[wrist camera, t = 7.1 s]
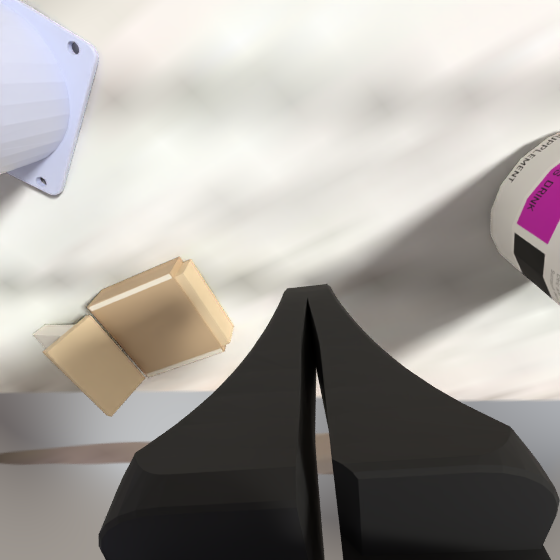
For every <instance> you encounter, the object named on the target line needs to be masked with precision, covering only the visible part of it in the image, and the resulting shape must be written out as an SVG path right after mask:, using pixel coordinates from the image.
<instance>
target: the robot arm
mask: <svg viewBox="0 0 560 560" xmlns="http://www.w3.org/2000/svg"><path fill="white" fill-rule="evenodd" d="M73 42H76V43H77V44H78V47H79V53H78V54H75V53H74V52H73V50H72V44H73ZM98 62H99V55H98V51H97V50H96V48H95V47H94V46H93V45H92V44H91V43H89V42H87V41H86V40H84V39H82V38H81V37H79V36H77V35H76V34H74V33H73V32H71V31H69V30H68V29H66V28H64V27H63V26H61V25H59V24H58V23H56V22H55V21H53V20H51V19H50V18H48V17H46V16H45V15H43V14H41V13H40V12H38V11H37V10H35V9H33V8H32V7H30V6H28V5H27V4H25V3H23V2H22V1H20V0H0V174H2V173H7V174H9V175H11V176H13V177H16V178H18V179H20V180H22V181H24V182H26V183H28V184H30V185H32V186H34V187H36V188H38V189H40V190H42V191H44V192H46V193H48V194H50V195H58V194H59V193H61V192H62V191H63V189H64V186H65V182H66V178H67V175H68V171H69V167H70V164H71V160H72V157H73V153H74V149H75V146H76V142H77V138H78V135H79V131H80V127H81V124H82V120H83V116H84V113H85V109H86V105H87V102H88V98H89V95H90V91H91V87H92V84H93V80H94V76H95V73H96V69H97V65H98ZM41 177H42V178H43V179H45V181H46V184H44V183H42V181H41ZM316 369H317V374H318V379H319V384H320V389H321V394H322V399H323V404H324V409H325V414H326V419H327V424H328V428H329V436H330V445H331V455H332V464H333V473H334V481H335V490H336V499H337V506H338V515H339V524H340V533H341V542H342V551H343V560H551V559H550V557H549V555H548V553H547V552H546V550H545V548H544V546H543V543H544V541H545V539H546V537H547V534H548V532H549V530H550V528H551V526H552V524H553V521H554V519H555V517H556V514H557V511H558V505H559V497H558V494H557V492H556V489H555V487H554V485H553V484H552V482H551V481H550V479H549V478H548V476H547V474H546V473H545V471H544V470H543V468H542V467H541V465H540V464H539V462H538V461H537V460H536V458H535V457H534V456H533V455H532V453H531V452H530V451H529V449H528V448H527V447H526V445H525V444H524V443H523V442H522V441H521V439H520V438H519V437H518V436H517V434H516V433H515V432H514V430H513V429H512V428H511V427H510V426H508V425H505V424H503V423H501V422H499V421H497V420H495V419H493V418H491V417H489V416H487V415H485V414H483V413H481V412H479V411H477V410H475V409H473V408H471V407H469V406H467V405H465V404H463V403H461V402H459V401H457V400H456V399H454V398H452V397H450V396H449V395H447V394H445V393H443V392H442V391H440V390H438V389H436V388H435V387H433V386H432V385H430V384H429V383H427V382H426V381H424V380H423V379H421V378H420V377H418V376H417V375H415V374H414V373H412V372H411V371H409V370H408V369H406V368H405V367H404V366H403V365H401V364H400V363H399V362H397V361H396V360H395V359H394V358H392V357H391V356H390V355H389V354H388V353H386V352H385V351H384V350H383V349H382V348H381V347H380V346H378V345H377V344H376V343H375V342H374V341H373V340H372V339H371V338H370V337H369V336H368V335H367V334H366V333H365V332H364V331H363V330H362V329H361V328H360V326H359V325H358V324H357V323H356V322H355V321H354V320H353V318H352V317H351V316H350V315H349V314H348V313H347V311H346V310H345V309H344V307H343V306H342V305H341V303H340V302H339V300H338V299H337V297H336V296H335V294H334V293H333V291H332V289H331V287H330V286H329V285H327V284H324V285H315V286H306V287H297V288H288V289H286V291H285V292H284V294H283V296H282V299H281V301H280V303H279V305H278V307H277V309H276V311H275V313H274V315H273V317H272V318H271V320H270V322H269V324H268V325H267V327H266V329H265V330H264V332H263V333H262V335H261V336H260V338H259V339H258V341H257V342H256V344H255V345H254V347H253V348H252V350H251V351H250V352H249V354H248V355H247V356H246V357H245V359H244V360H243V361H242V362H241V364H240V365H239V366H238V367H237V368H236V370H235V371H234V372H233V373H232V374H231V375H230V376H229V377H228V378H227V379H226V380H225V381H224V383H223V384H222V385H221V386H220V387H219V388H218V389H217V390H216V391H215V392H214V393H213V394H212V395H211V396H209V397H208V398H207V399H206V400H205V401H204V402H203V403H201V404H200V405H199V406H198V407H197V408H196V409H195V410H193V411H192V412H191V413H190V414H189V415H187V416H186V417H185V418H183V419H182V420H181V421H180V422H179V423H177V424H176V425H175V426H173V427H172V428H170V429H169V430H168V431H166V432H165V433H163V434H162V435H161V436H159V437H158V438H156V439H155V440H153V441H152V442H151V443H149V444H148V445H146V446H145V447H144V448H142V449H141V450H139V451H138V452H136V453H135V455H134V457H133V459H132V461H131V463H130V465H129V467H128V468H127V470H126V472H125V474H124V476H123V478H122V480H121V483H120V485H119V487H118V489H117V492H116V494H115V497H114V499H113V501H112V504H111V506H110V509H109V511H108V514H107V516H106V519H105V521H104V523H103V526H102V528H101V531H100V533H99V547H100V549H101V552H102V553H103V555H104V557H105V559H106V560H324V548H323V536H322V524H321V512H320V499H319V487H318V474H317V461H316V447H315V405H316Z"/></svg>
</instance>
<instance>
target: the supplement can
mask: <svg viewBox="0 0 560 560" xmlns="http://www.w3.org/2000/svg"><path fill="white" fill-rule="evenodd" d="M491 237H492V239H493V241H494V243H495V245H496V248H497V250H498V252H499V254H500V255H502V256H503V257H504V258H505V259H506V260H507V261H509V262H510V263H511V264H512V265H513V266H514V267H516V268H517V269H518V270H519V271H520V272H521V273H523V274H524V275H525V276H526V277H527V278H528V279H530V280H531V281H532V282H533V283H534V284H535V285H537V286H538V287H539V288H540V289H541V290H542V291H544V292H545V293H546V294H547V295H548V296H549V297H551V298H552V299H553V300H554V301H555V302H556V303H558V304H559V305H560V132H559V133H557V134H555V135H552V136H550V137H548V138H547V139H546V140H544V141H543V142H542V143H540V144H539V145H538V146H537V147H535V148H534V149H533V150H531V151H530V152H529V153H528V154H526V155H525V156H524V157H522V158H521V159H520V160H519V162H518V163H517V164H516V166H515V167H514V168H513V170H512V171H511V172H510V174H509V175H508V176H507V177H506V179H505V180H504V181H503V183H502V184H501V186H500V188H499V191H498V194H497V196H496V199H495V201H494V204H493V207H492V209H491Z"/></svg>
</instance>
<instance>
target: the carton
mask: <svg viewBox="0 0 560 560" xmlns="http://www.w3.org/2000/svg"><path fill="white" fill-rule="evenodd" d="M87 308H88V309H89V310H90V311H91V313H92V314H93V315H94V316H95V317H96V318H97V319H98V321H99V322H100V323H101V324H102V325H103V326H104V328H105V329H106V330H107V331H108V332H109V333H110V334H111V336H112V337H113V338H114V339H115V340H116V341H117V343H118V344H119V345H120V346H121V347H122V348H123V349H124V351H125V352H126V353H127V354H128V355H129V356H130V358H131V359H132V360H133V361H134V362H135V363H136V364H137V366H138V367H139V368H140V369H141V370H142V371H143V372H144V374H145V375H146V376H147V377H148V378H149V377H152V376H155V375H157V374H160V373H163V372H166V371H169V370H172V369H175V368H178V367H181V366H184V365H187V364H189V363H192V362H195V361H198V360H201V359H204V358H207V357H210V356H213V355H216V354H219V353H221V352H224V351H225V347H226V344H229V343H230V341H231V336H232V332H233V327H234V326H233V324H232V322H231V321H230V319H229V318H228V316H227V315H226V313H225V312H224V310H223V308H222V307H221V305H220V304H219V302H218V301H217V299H216V298H215V296H214V294H213V293H212V291H211V290H210V288H209V287H208V285H207V284H206V282H205V280H204V279H203V277H202V276H201V274H200V273H199V271H198V270H197V268H196V266H195V265H194V263H193V262H192V260H191V259H190V260H188V261H185V262H183V261H182V260H181V258H180V257H177V258H175V259H173V260H170V261H168V262H166V263H163V264H161V265H159V266H156V267H154V268H152V269H149V270H147V271H145V272H142V273H140V274H138V275H135V276H133V277H131V278H128V279H126V280H123V281H121V282H119V283H116V284H114V285H112V286H109V287H107V288H105V289H102V290H101V291H100V292H99V294H98V295H97V296H96V297H95V298H94V299H93V301H92V302H91V303H90V304H89V305H88V306H87Z"/></svg>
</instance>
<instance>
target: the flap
mask: <svg viewBox="0 0 560 560" xmlns="http://www.w3.org/2000/svg"><path fill="white" fill-rule="evenodd" d="M32 335H33V336H34V337H35V338H36V339H37V340H38V341H39V342H40V343H41V344H42V345H43V346H44V347H45V348H46V349H45V350H44V351H43V353H44V354H45V355H46V356H47V357H48V358H49V359H50V360H51V361H52V362H53V363H54V364H55V365H56V366H57V367H58V368H59V369H60V370H61V371H62V372H63V373H64V374H65V375H66V376H67V377H68V378H69V379H70V380H71V381H72V382H73V383H74V384H75V385H76V386H77V387H78V388H79V389H80V390H81V391H82V392H83V393H84V394H85V395H86V396H87V397H89V398H90V399H91V400H92V401H93V402H94V403H95V404H96V405H97V406H98V407H99V408H100V409H101V410H102V411H103V412H104V413H105V414H106V415H108V416H112V415H113V414H114V413H115V412H116V411H117V410H118V409H119V407H120V406H121V405H122V404H123V403H124V402H125V401H126V400H127V398H128V397H129V396H130V395H131V394H132V393H133V392H134V390H135V389H136V388H137V387H138V386H139V385H140V384H141V382H142V381H143V380H144V379H145V377H144V376H143V375H142V374H141V372H140V371H139V370H138V369H137V368H136V367H135V366H134V364H133V363H132V362H131V361H130V360H129V359H128V358H127V356H126V355H125V354H124V353H123V352H122V351H121V350H120V348H119V347H118V346H117V345H116V344H115V343H114V342H113V340H112V339H111V338H110V337H109V336H108V335H107V334H106V332H105V331H104V330H103V329H102V328H101V327H100V326H99V324H98V323H97V322H96V321H95V320H94V319H93V318H92V316H91V315H89V316H85V317H84V318H83V319H81V320H80V321H79V322H78V323H77V324H75V325H44V326H43V327H41V328H40V329H39V330H37V331H36V332H35V333H34V334H32Z"/></svg>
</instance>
